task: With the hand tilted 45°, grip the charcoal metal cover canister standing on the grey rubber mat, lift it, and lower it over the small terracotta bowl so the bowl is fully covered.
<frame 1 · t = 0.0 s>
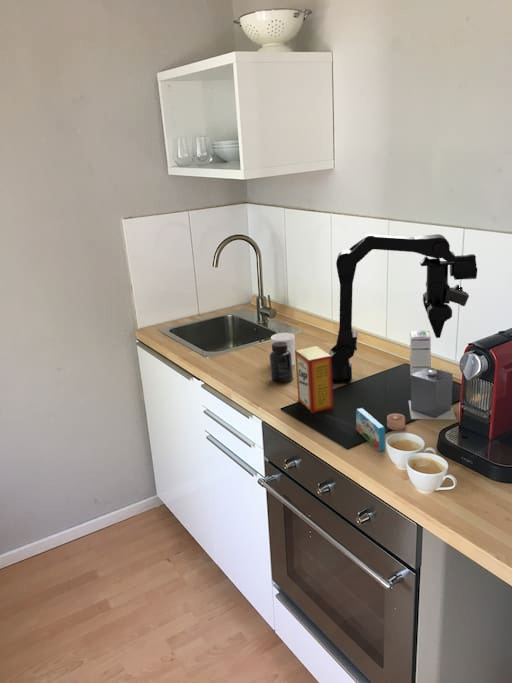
hand: (436, 332, 168), 15 cm above the worktop, tool pointing down, fingers open, 9 cm apart
baking soda box: (315, 405, 162), on the worktop
supplement bottle: (282, 380, 181), on the worktop
syrup box: (420, 379, 173), on the worktop
charcoal cover canister: (431, 409, 152), point 1 cm above the worktop, touching grey rubber mat
grey rubber mat: (431, 411, 153), on the worktop
terracotta bowl: (396, 428, 146), on the worktop
white cup: (284, 365, 194), on the worktop
light blue carton: (370, 440, 141), on the worktop
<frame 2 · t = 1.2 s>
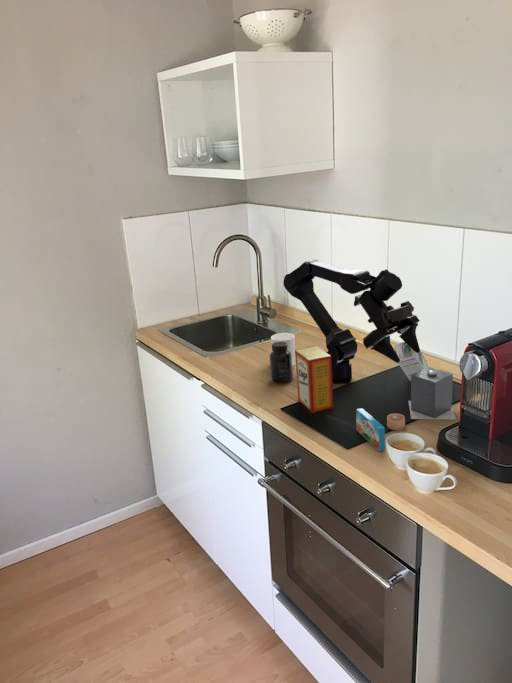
hand: (409, 357, 155), 13 cm above the worktop, tool tilted 40°, fingers open, 9 cm apart
syrup box: (418, 372, 172), point 2 cm above the worktop, touching gripper
everything else where it was.
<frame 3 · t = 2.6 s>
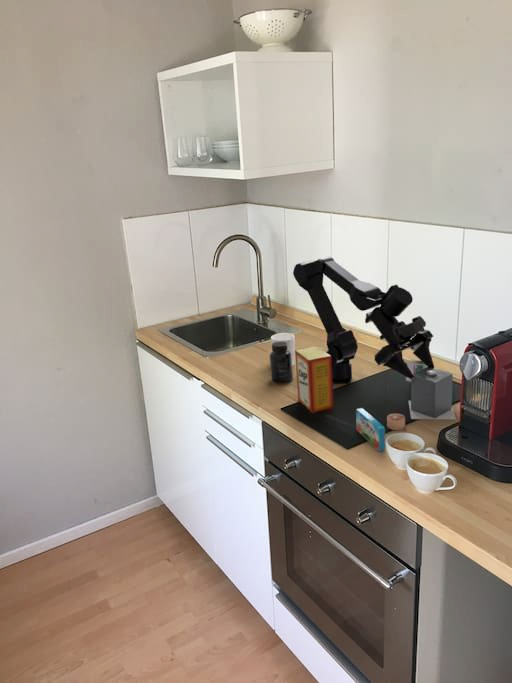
hand: (422, 373, 151), 10 cm above the worktop, tool tilted 45°, fingers open, 8 cm apart
syrup box: (421, 373, 171), point 2 cm above the worktop, touching gripper
everything else where it was.
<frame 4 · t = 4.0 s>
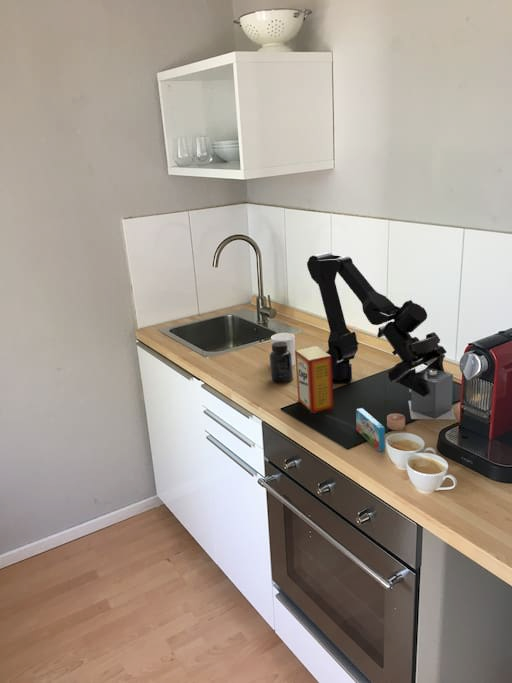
hand: (436, 390, 149), 7 cm above the worktop, tool tilted 45°, fingers open, 9 cm apart
syrup box: (420, 373, 170), point 3 cm above the worktop, touching charcoal cover canister, gripper
charcoal cover canister: (431, 409, 152), point 1 cm above the worktop, touching grey rubber mat, syrup box
everything else where it was.
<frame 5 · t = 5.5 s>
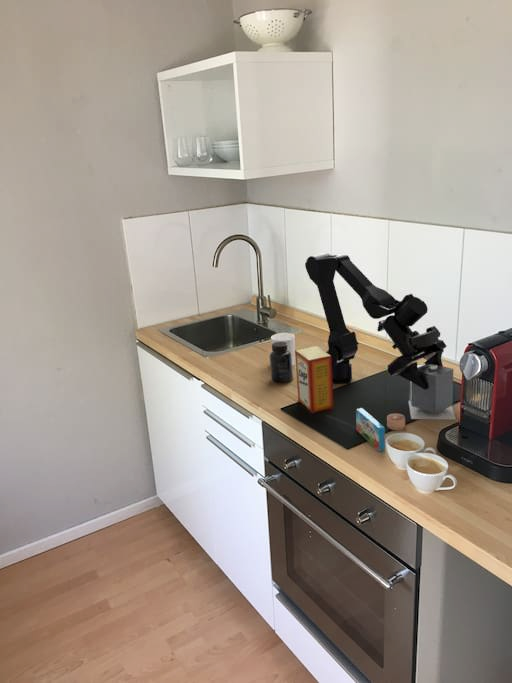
hand: (436, 384, 149), 8 cm above the worktop, tool tilted 45°, fingers closed on charcoal cover canister, 7 cm apart
syrup box: (420, 373, 170), point 3 cm above the worktop, touching grey rubber mat
charcoal cover canister: (431, 405, 151), point 2 cm above the worktop, touching gripper
everything else where it was.
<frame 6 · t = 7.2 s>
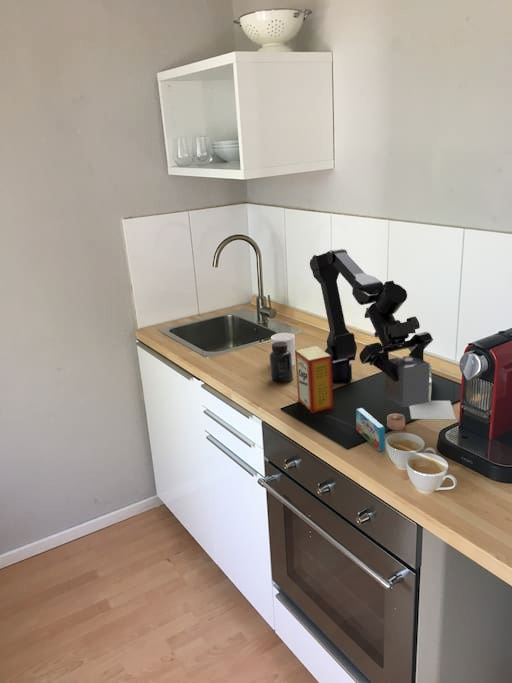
hand: (410, 377, 141), 13 cm above the worktop, tool tilted 45°, fingers closed on charcoal cover canister, 7 cm apart
charcoal cover canister: (406, 399, 144), point 7 cm above the worktop, touching gripper
everything else where it was.
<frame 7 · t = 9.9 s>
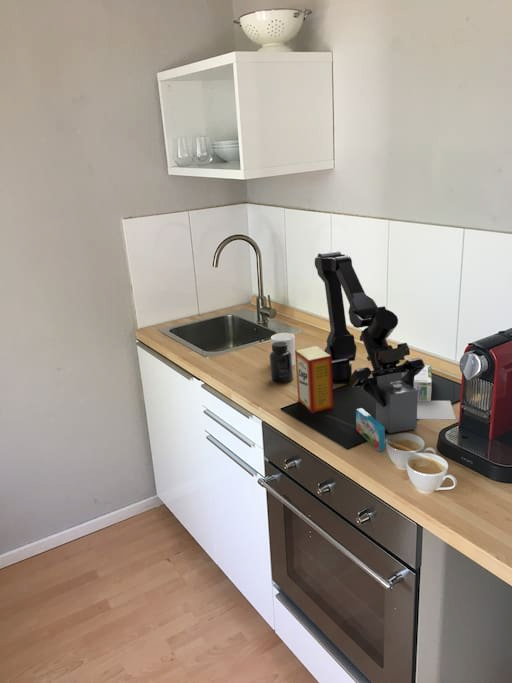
hand: (398, 403, 142), 7 cm above the worktop, tool tilted 45°, fingers closed on charcoal cover canister, 7 cm apart
charcoal cover canister: (395, 424, 145), point 1 cm above the worktop, touching gripper
everything else where it was.
when the fingers open (7 cm above the worktop, at t = 10.0 s): charcoal cover canister drops 1 cm, on the worktop.
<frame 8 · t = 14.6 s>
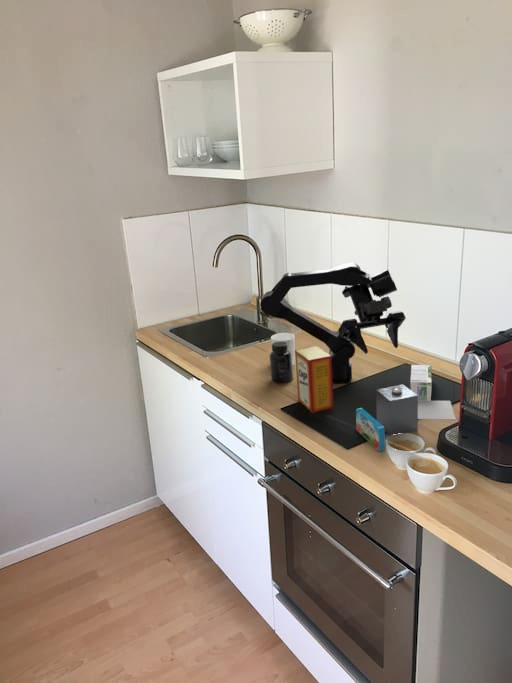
hand: (381, 350, 161), 14 cm above the worktop, tool tilted 45°, fingers open, 9 cm apart
charcoal cover canister: (396, 428, 145), on the worktop
everything else where it was.
at the end: charcoal cover canister 0.5 cm off-centre on the terracotta bowl, point 0.0 cm above the terracotta bowl's base; charcoal cover canister tilted 0°; the gripper is holding nothing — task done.
